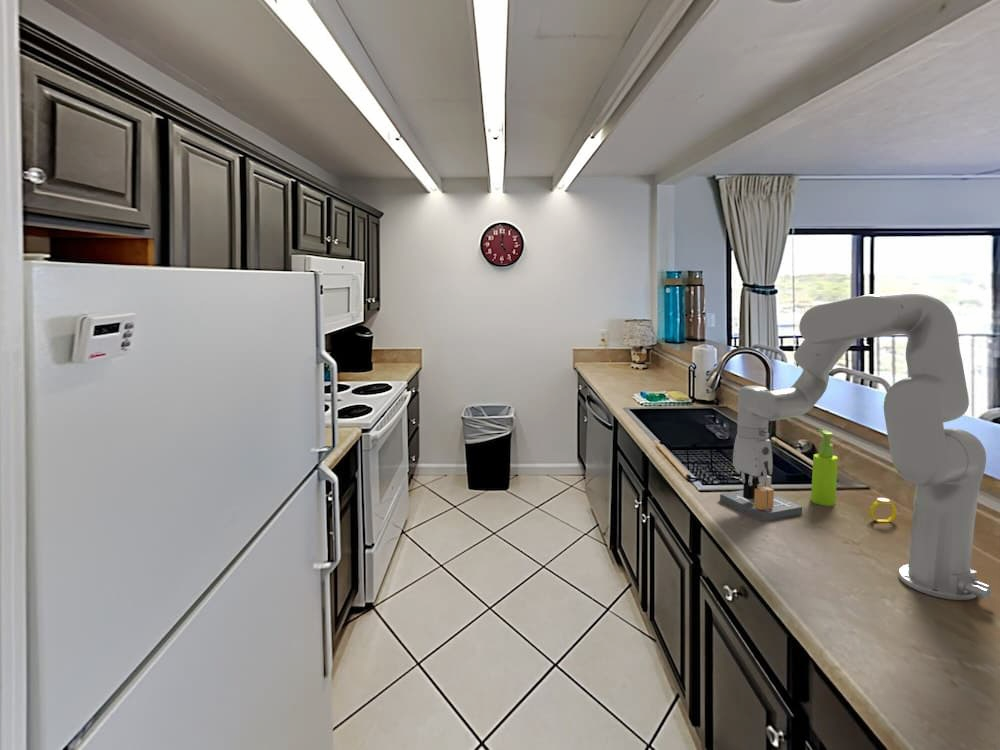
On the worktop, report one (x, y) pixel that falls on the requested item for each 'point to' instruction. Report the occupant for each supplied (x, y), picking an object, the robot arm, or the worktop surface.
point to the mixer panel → (747, 506)
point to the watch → (883, 501)
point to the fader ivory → (765, 483)
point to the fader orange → (763, 498)
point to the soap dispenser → (824, 473)
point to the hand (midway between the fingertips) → (750, 497)
